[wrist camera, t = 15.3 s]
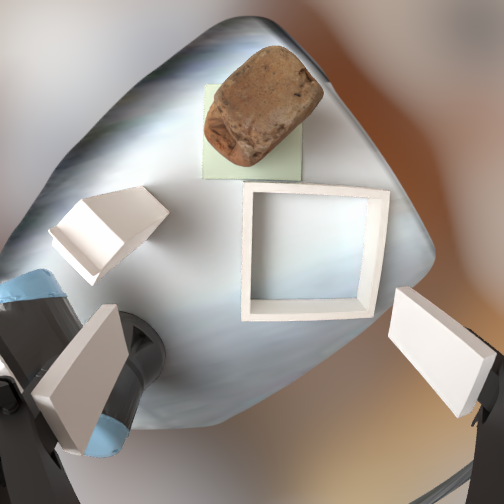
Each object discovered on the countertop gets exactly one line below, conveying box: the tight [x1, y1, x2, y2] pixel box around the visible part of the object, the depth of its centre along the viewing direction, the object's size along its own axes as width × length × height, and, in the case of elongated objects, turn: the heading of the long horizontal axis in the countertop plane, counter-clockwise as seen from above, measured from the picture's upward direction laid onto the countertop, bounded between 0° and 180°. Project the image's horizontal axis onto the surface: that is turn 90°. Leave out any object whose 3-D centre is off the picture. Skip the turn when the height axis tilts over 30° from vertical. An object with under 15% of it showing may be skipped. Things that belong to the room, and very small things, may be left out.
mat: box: [202, 84, 302, 181], centre depth 40 cm, size 14×14×1 cm
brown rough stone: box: [204, 46, 324, 167], centre depth 30 cm, size 11×8×20 cm
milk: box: [49, 186, 170, 286], centre depth 32 cm, size 6×6×22 cm
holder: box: [241, 181, 390, 321], centre depth 43 cm, size 20×19×5 cm
